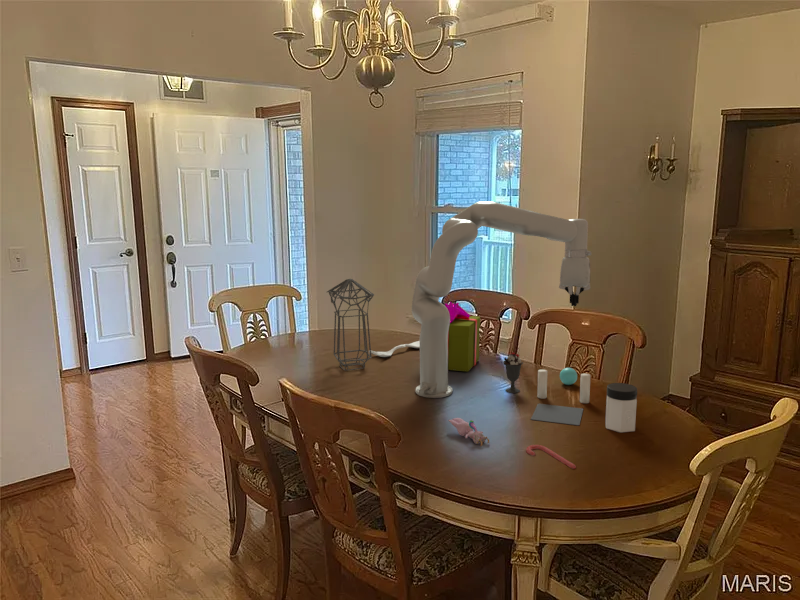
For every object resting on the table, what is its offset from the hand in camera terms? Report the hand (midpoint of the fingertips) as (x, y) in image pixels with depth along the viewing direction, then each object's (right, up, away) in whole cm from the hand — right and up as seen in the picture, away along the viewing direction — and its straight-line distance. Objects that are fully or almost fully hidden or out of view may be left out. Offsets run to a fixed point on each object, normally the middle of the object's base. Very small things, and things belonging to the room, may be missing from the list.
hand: (574, 305), depth 216 cm
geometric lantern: (-81, -25, +20) cm, 87 cm away
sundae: (-24, -29, -10) cm, 39 cm away
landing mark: (-14, -33, -31) cm, 48 cm away
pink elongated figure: (-43, -37, -47) cm, 74 cm away
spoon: (-61, -21, +41) cm, 76 cm away
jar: (+1, -35, -41) cm, 54 cm away
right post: (-3, -31, -21) cm, 37 cm away
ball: (-3, -25, -4) cm, 25 cm away
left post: (-15, -30, -16) cm, 38 cm away
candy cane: (-23, -40, -60) cm, 76 cm away
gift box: (-42, -24, +21) cm, 52 cm away
